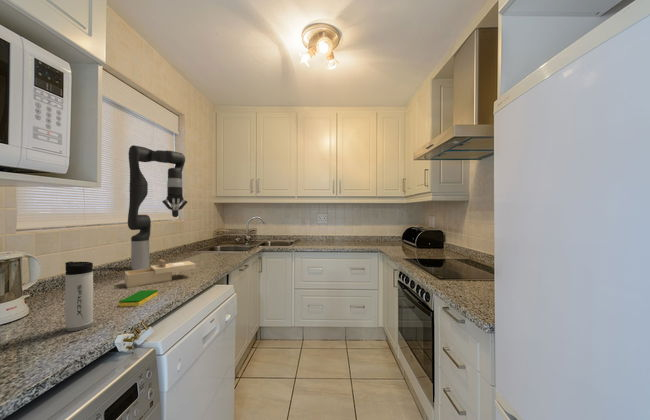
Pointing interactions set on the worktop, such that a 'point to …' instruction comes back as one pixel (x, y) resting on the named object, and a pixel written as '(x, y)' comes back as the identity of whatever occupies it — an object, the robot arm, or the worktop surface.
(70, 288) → the travel mug
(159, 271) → the lid
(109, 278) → the worktop surface
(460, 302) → the worktop surface
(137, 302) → the dish sponge
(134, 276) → the box
